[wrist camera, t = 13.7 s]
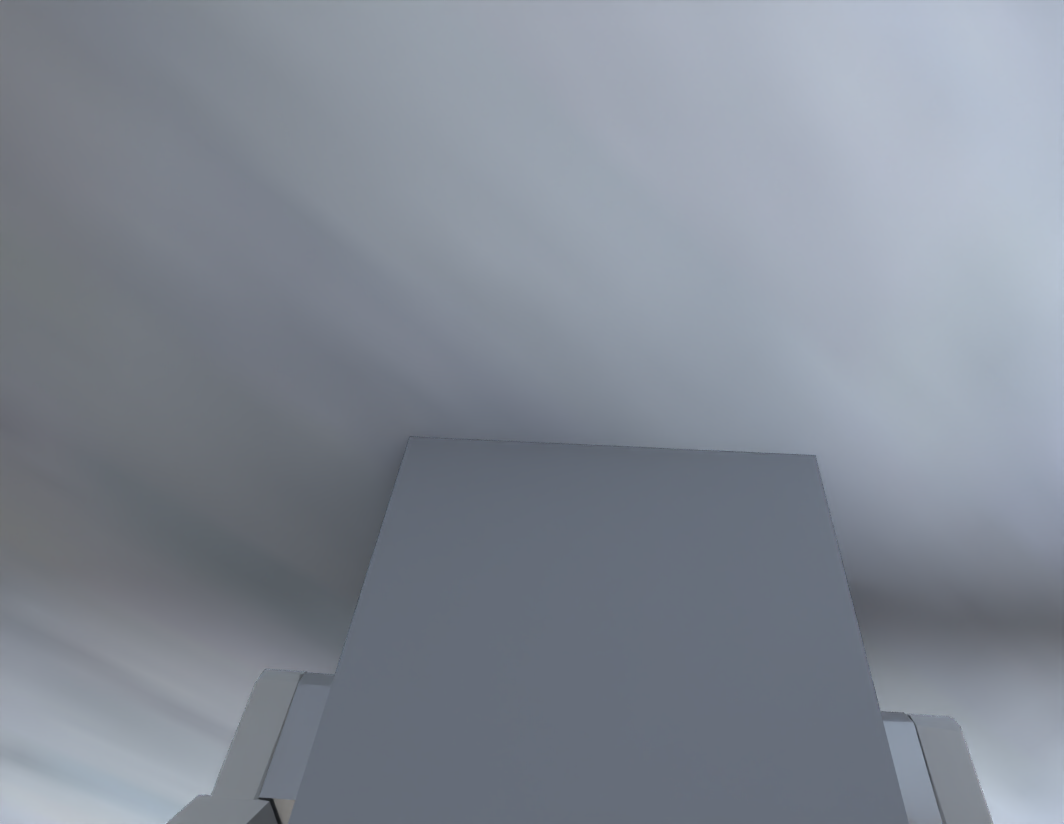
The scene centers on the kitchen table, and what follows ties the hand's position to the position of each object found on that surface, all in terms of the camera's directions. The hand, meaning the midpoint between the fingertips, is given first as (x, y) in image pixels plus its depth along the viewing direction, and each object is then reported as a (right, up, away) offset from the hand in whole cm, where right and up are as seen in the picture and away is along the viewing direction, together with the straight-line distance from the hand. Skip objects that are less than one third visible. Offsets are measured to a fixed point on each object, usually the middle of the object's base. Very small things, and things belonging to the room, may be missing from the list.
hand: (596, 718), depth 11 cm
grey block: (0, +1, +2) cm, 2 cm away
